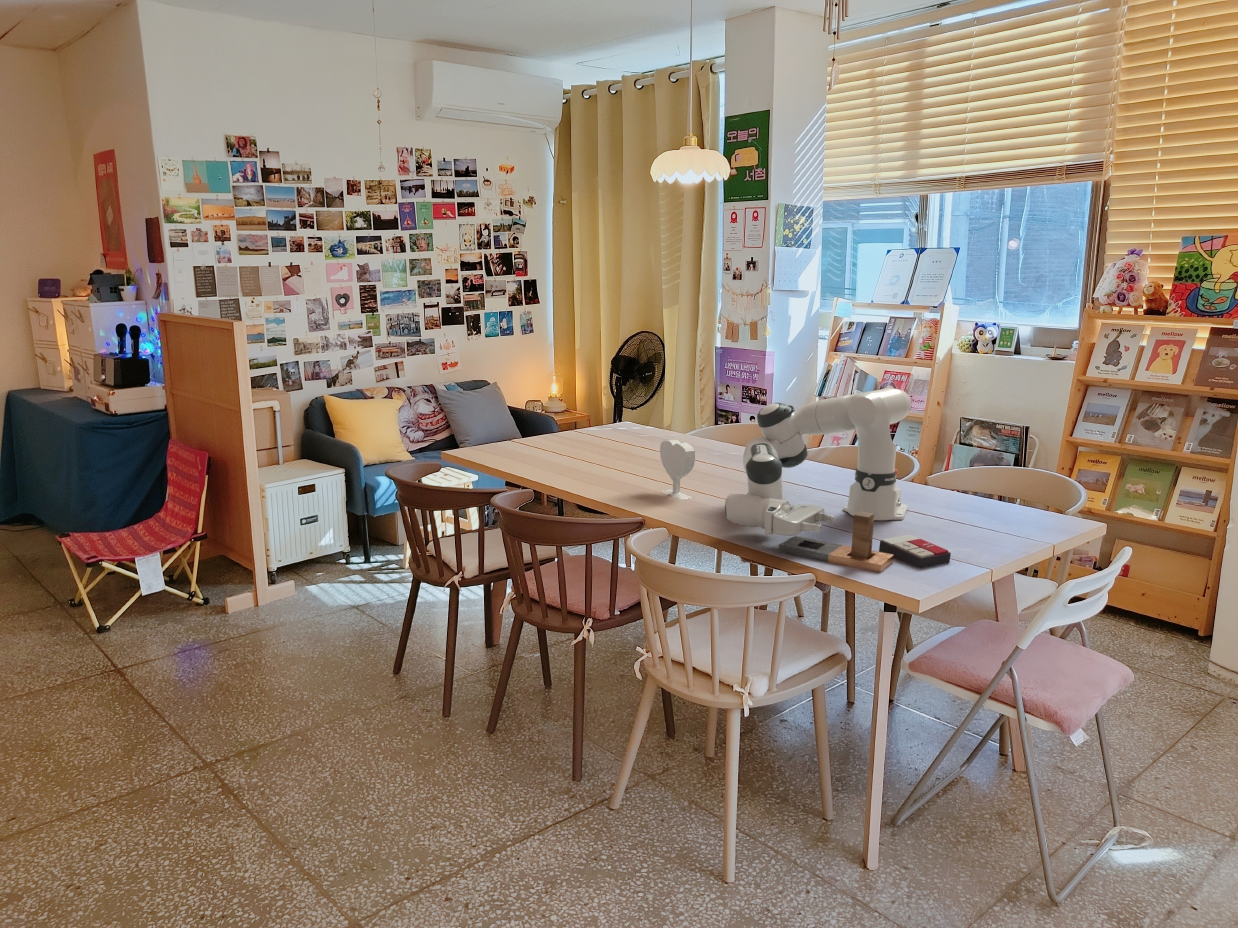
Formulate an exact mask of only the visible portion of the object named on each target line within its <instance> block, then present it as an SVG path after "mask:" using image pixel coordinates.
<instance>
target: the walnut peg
mask: <svg viewBox="0 0 1238 928" xmlns="http://www.w3.org/2000/svg"><path fill="white" fill-rule="evenodd" d="M852 519H853V522H852V535H851V536H852V537H851V547H852V549H851V557H857V558H862V559H867V560H869V559H870V558H871V551H873V550H872V549H873V538H874V537H873V535H874V522H875V520H874V514H873V513H867V512H861V511H859V512H857V513H856V514H854V516H853V518H852Z"/></svg>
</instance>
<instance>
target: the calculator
mask: <svg viewBox="0 0 1238 928" xmlns="http://www.w3.org/2000/svg"><path fill="white" fill-rule="evenodd" d="M878 552H882V553H888V554H893V555H894V559H897V560H898V561H900V562H903V563H906V564H908V565H911V566H913V567H915V568H917V569H924V568H927V567H928V568H930V567H934V566H938V565H942V564H947V563H950V561H951V556H952V554H951V552H949V550H948V549H946V548H943V547H942V546H939V545H936V544H934V543H932V542H929V541H927V540H925V539H922V538H919V537H916V536H913V535H911V534H905V535H899V536H894V537H889V538H883V539H881V540H879V547H878Z"/></svg>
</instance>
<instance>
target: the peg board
mask: <svg viewBox="0 0 1238 928" xmlns="http://www.w3.org/2000/svg"><path fill="white" fill-rule="evenodd" d="M778 546H779V547H778V552H779V553H783V554H788V555H792V556H797V557H801V558H807V559H812V560H818V561H823V562H825V563H826V562H827V563H831V564H837V565H842V566H848V567H850V568H851V567H852V568H857V569H862V570H868V571H871V572H876V573H881V572H883V571H884V570H885V569H887V568H888V567H890V566H891V565H893V563H894V559H895V558H894V555H893V554H888V553H882V552H879V551H876V550H872V551H871V558H870V559H869V560H867V559H862V558H857V557H851V549H852V545H844V544H839V543H835V542H834V543H833V542H829V541H823V540H819V539H812V538H808V537H803V536H798V535H794V536H792V537H790V538H789V539H787V540H784V541H783V542H782V543H780V544H778Z"/></svg>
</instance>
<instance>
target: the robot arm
mask: <svg viewBox="0 0 1238 928" xmlns="http://www.w3.org/2000/svg"><path fill="white" fill-rule="evenodd" d="M911 409H912V401H911V398H910V396H909V395H908V393H907V392H906V391H904V390H902V389H898V388H893V387H887V388H882V389H875V390H869V391H864V392H859V393H853V394H847V395H843V396H841V395H840V396H837V397H830V398H826V399H820V400H816V401H812V402H808V403H806V404H804V405H801V406H799V407H797V408H795V407H794V406H793V405H789V404H786V403H782V402H773V403H770V404H767V405H766V406H764V407H763V408H761V409H760V410H759V411H758V413H757V415H756V420H757V425H758V426H759V428H760V430H761V434H762V435H763V437H762V436H758V437H757V436H756V437H754V438H752V439H751V440H749V441H748V442H747V444H746V446H745V448H744V451H743V457H742V458H743V459H742V462H743V469H744V472H745V474H746V476H747V477H746V478H747V490H748V491H747V493H746V494H744V493H729V494H728V495H727V496H726V499H725V502H724V512H725V517H726V519H727V520H728V521H729V522H731V523H734V524H737V525H741V526H746V527H751V528H755V527H759V528H761V529H763V530H764V534H766V535H771V536H773V535H780V536H789V537H791V536H792V537H793V536H798V534H801V533H802V532H816V533H819V532H820V531H822V525H821V524H820V523H819V522H826V523H827V524H833V523H835V520H836V517H835V515H829V514H828V513H825V508H824V507H823V506H821V505H813V504H812V505H811V504H804V503H803V504H797V505H794V506H793V505H791V503H790V501H789V500H784V494H783V476H782V475H783V468H787V469H790V468H794V467H797V466H799V465H801V464H802V463H803V462H805V460H806V459H807V457H808V448H807V444H805V442H804V439H803V435H806V436H807V435H810V436H822V435H829V434H837V433H843V432H851V431H855V432H856V436H857V444H858V446H857V447H858V449H857V450H858V451H857V453H858V454H857V468H855V472H854V480H855V482H853V483H852V484H850V486H849V494H848V500H847V504H846V505H844V506H843V507H842V508H843V509H842V511H844V512H846V513H848V514H849V515H850V516H853V517H854V514H856V513H857V512H859V511H861V512H867V513H873V514H874V521H889V520H890V521H891V520H896V521H899V520H900V521H901V520H902V521H903V520H904V518H905V515H906V514H907V512H908V507H909V506H908V505H907V504H905V503H902V491H901V489H900V488H899V486H898V485H897V483H896V482H897V475H898V469H897V468H895V467H896V453H897V446H896V444H895V442H894V441H893V439H892V436H891V430H890V426H891V425H895V424H897V423H899V422H901V421H902V420H903V419H905V418H906V417H907V416H908V415H909V414H910V412H911Z"/></svg>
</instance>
